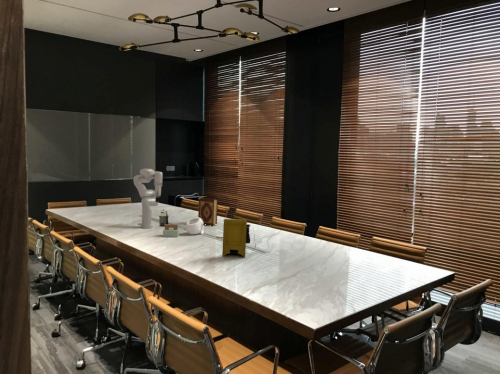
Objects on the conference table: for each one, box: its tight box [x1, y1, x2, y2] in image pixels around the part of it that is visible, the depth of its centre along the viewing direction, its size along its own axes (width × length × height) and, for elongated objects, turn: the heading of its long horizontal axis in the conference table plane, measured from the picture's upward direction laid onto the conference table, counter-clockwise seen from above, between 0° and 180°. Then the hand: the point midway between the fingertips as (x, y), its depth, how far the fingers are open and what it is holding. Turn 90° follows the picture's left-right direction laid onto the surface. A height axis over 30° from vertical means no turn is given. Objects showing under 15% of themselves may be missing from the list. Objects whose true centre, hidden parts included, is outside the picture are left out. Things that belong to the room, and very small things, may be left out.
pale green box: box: [162, 228, 180, 238], centre depth 369 cm, size 14×10×7 cm
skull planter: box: [185, 216, 205, 236], centre depth 384 cm, size 14×20×19 cm
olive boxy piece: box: [216, 218, 256, 258], centre depth 307 cm, size 31×14×30 cm, turn 92°
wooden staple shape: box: [163, 223, 179, 230], centre depth 367 cm, size 12×5×5 cm, turn 95°
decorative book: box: [197, 197, 219, 226], centre depth 437 cm, size 22×8×30 cm, turn 62°
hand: (157, 201), depth 384 cm, fingers open, 9 cm apart
